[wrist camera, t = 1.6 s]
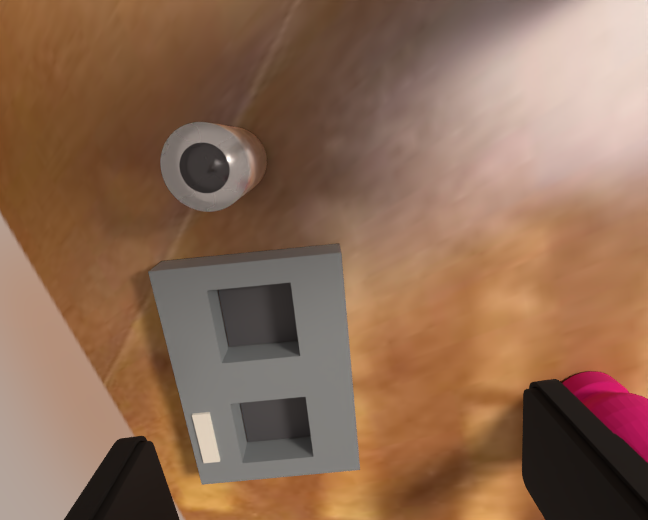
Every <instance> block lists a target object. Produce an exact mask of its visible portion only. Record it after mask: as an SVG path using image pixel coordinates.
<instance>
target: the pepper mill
mask: <svg viewBox="0 0 648 520" xmlns="http://www.w3.org/2000/svg"><path fill="white" fill-rule="evenodd" d="M562 384H563V385H564V386H565V387H566V388H568V389H569V390H570V391H571V392H572V393H573V394H574V395H575V396H576V397H577V398H578V399H579V400H580V401H581V402H582V403H583V404H584V405H585V406H586V407H587V408H588V409H589V410H590V411H591V412H592V413H593V414H594V415H595V416H596V417H597V418H598V419H599V420H600V421H601V422H603V423H604V424H605V425H606V426H607V427H608V428H609V429H610V430H611V431H612V432H613V433H614V434H617V435H618V436H619V437H621V438H622V439H623V440H624V441H625V442H626V443H627V444H628V445H629V446H630V447H632V448H633V449H634V450H635V451H636V452H637V453H638V454H639V455H640V456H641V457H642V458H643V459H644V460H645V461H646V462H647V463H648V399H647V398H645V397H643V396H640V395H636V394H632V393H629V392H628V390H627V389H626V388H625V387H623V386H622V385H621V384H620V383H618V382H617V381H616V380H615V379H613V378H612V377H611V376H609V375H607V374H605V373H602V372H592V371H589V372H583V373H579V374H576V375H574V376H572V377H570V378H569V379H567V380H565V381H564V382H563V383H562Z"/></svg>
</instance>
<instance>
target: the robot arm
mask: <svg viewBox="0 0 648 520" xmlns="http://www.w3.org/2000/svg"><path fill="white" fill-rule="evenodd" d="M522 476H523V480H524V483H525V486H526V488H527V490H528V492H529V493H530V495H531V497H532V498H533V500H534V502H535V503H536V505H537V506H538V508H539V510H540V511H541V513H542V515H543V516H544V518H545V519H546V520H648V463H647V462H646V461H645V460H644V459H643V458H642V457H641V456H640V455H639V454H638V453H637V452H636V451H635V450H634V449H633V448H632V447H630V446H629V445H628V444H627V443H626V442H625V441H624V440H623V439H622V438H621V437H619V436H618V435H617V434H614V433H613V432H612V431H611V430H610V429H609V428H608V427H607V426H606V425H605V424H604V423H603V422H601V421H600V420H599V419H598V418H597V417H596V416H595V415H594V414H593V413H592V412H591V411H590V410H589V409H588V408H587V407H586V406H585V405H584V404H583V403H582V402H581V401H580V400H579V399H578V398H577V397H576V396H575V395H574V394H573V393H572V392H571V391H570V390H569V389H568V388H566V387H565V386H564V385H563V384H562V383H561V382H560V381H559V380H557V379H551V380H544V381H537V382H532V383H531V384H530V386H529V389H526V390H525V391H524V394H523V448H522ZM64 520H179V517H178V514H177V511H176V508H175V505H174V502H173V499H172V496H171V493H170V491H169V488H168V485H167V482H166V479H165V476H164V473H163V470H162V467H161V464H160V462H159V459H158V456H157V453H156V450H155V447H154V445H153V443H152V442H151V441H147V439H146V438H145V437H144V436H136V437H129V438H122V439H119V440H117V441H116V442H115V443H114V445H113V446H112V448H111V449H110V451H109V452H108V454H107V455H106V457H105V458H104V460H103V461H102V463H101V464H100V466H99V467H98V469H97V470H96V472H95V473H94V475H93V476H92V478H91V479H90V481H89V482H88V484H87V486H86V487H85V489H84V490H83V492H82V493H81V495H80V496H79V498H78V499H77V501H76V502H75V504H74V505H73V507H72V508H71V510H70V511H69V513H68V514H67V516H66V517H65V519H64Z"/></svg>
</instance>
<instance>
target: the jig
mask: <svg viewBox="0 0 648 520" xmlns="http://www.w3.org/2000/svg"><path fill="white" fill-rule="evenodd" d="M148 273H149V277H150V281H151V285H152V289H153V293H154V297H155V301H156V305H157V309H158V313H159V317H160V320H161V324H162V328H163V332H164V336H165V340H166V344H167V348H168V352H169V356H170V360H171V364H172V368H173V372H174V376H175V380H176V384H177V388H178V392H179V396H180V400H181V404H182V408H183V412H184V416H185V420H186V424H187V427H188V431H189V435H190V439H191V443H192V447H193V451H194V455H195V459H196V463H197V467H198V471H199V475H200V479H201V483H202V484H213V483H223V482H234V481H245V480H255V479H266V478H277V477H288V476H298V475H309V474H320V473H331V472H341V471H352V470H360V464H359V452H358V441H357V429H356V417H355V406H354V394H353V383H352V371H351V359H350V348H349V336H348V325H347V313H346V301H345V290H344V278H343V267H342V255H341V249H340V245H339V244H329V245H319V246H309V247H299V248H288V249H278V250H268V251H258V252H248V253H238V254H228V255H218V256H207V257H197V258H187V259H177V260H167V261H161V262H160V263H158V264H157V265H156V266H155V267H153V268H152V269H151V270H150V271H148ZM218 292H219V295H218ZM219 298H220V300H219ZM220 303H221V305H220ZM221 308H222V310H221ZM222 313H223V315H222ZM223 318H224V320H223ZM224 323H225V325H224ZM225 328H226V330H225ZM226 333H227V336H226ZM227 338H228V341H227ZM228 343H229V346H228ZM240 405H241V407H240ZM241 410H242V412H241ZM242 415H243V417H242ZM243 420H244V422H243ZM244 425H245V427H244ZM245 430H246V432H245ZM246 435H247V437H246ZM247 441H248V442H247Z"/></svg>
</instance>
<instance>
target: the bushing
mask: <svg viewBox="0 0 648 520" xmlns="http://www.w3.org/2000/svg"><path fill="white" fill-rule="evenodd" d="M160 164H161V173H162V176H163V179H164V182H165V184H166V186H167V187H168V189H169V191H170V192H171V193H172V194H173V195H174V197H175V198H176V199H178V200H179V201H180V202H181V203H183V204H184V205H186V206H188V207H190V208H192V209H195V210H199V211H206V212H212V211H219V210H222V209H224V208H227V207H229V206H230V205H232V204H233V203H235V202H236V201H237V200H238V199H240V198H241V197H242V196H243V195H245V194H246V193H247V192H249V191H250V190H251V189H252V188H254V187H255V186H256V185H257V184H258V183H259V182H260V181H261V180H262V178H263V176H264V174H265V172H266V168H267V156H266V152H265V149H264V147H263V145H262V143H261V142H260V140H259V139H258V138H257V137H256V136H255V135H254V134H253V133H251V132H250V131H248V130H246V129H243V128H239V127H233V126H227V125H220V124H214V123H208V122H194V123H189V124H186V125H184V126H182V127H180V128H178V129H177V130H175V131H174V132H173V133H172V134H171V135H170V136H169V138H168V139H167V141H166V142H165V144H164V147H163V149H162V153H161V160H160Z"/></svg>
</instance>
